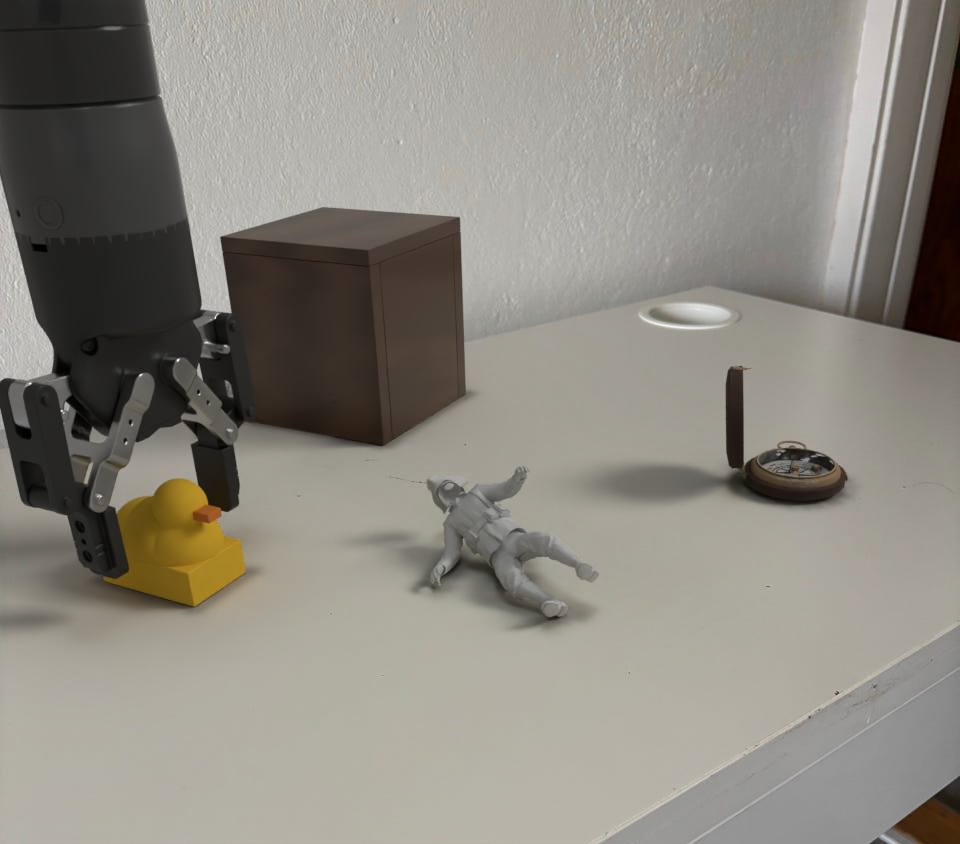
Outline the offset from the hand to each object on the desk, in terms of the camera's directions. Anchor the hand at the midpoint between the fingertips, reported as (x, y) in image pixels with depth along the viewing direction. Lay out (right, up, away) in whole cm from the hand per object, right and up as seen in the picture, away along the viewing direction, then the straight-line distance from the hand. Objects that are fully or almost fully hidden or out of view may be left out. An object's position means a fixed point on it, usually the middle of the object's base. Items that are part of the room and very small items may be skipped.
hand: (168, 538), depth 55 cm
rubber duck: (0, -2, +1) cm, 2 cm away
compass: (+36, +5, +11) cm, 38 cm away
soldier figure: (+18, -2, +1) cm, 18 cm away
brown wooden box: (+7, +12, +24) cm, 28 cm away
